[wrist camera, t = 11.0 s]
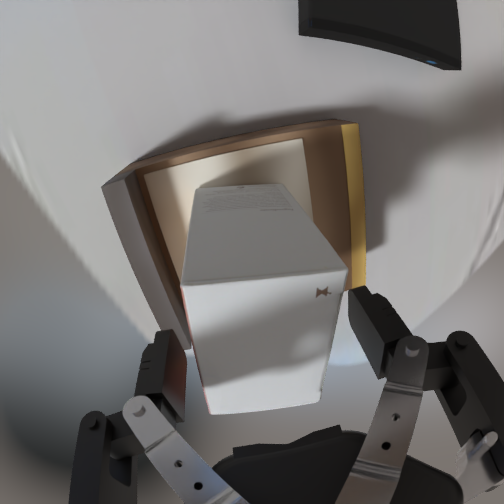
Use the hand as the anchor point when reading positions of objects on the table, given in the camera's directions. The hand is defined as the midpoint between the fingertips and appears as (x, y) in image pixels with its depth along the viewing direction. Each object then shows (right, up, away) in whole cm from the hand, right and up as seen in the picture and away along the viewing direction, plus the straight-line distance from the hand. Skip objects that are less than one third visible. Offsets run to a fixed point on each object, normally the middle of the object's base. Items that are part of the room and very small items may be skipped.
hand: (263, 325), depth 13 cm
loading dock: (-1, +6, +11) cm, 13 cm away
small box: (-1, +4, +7) cm, 9 cm away
